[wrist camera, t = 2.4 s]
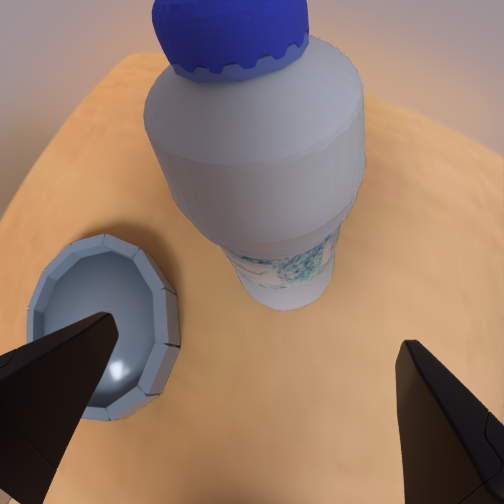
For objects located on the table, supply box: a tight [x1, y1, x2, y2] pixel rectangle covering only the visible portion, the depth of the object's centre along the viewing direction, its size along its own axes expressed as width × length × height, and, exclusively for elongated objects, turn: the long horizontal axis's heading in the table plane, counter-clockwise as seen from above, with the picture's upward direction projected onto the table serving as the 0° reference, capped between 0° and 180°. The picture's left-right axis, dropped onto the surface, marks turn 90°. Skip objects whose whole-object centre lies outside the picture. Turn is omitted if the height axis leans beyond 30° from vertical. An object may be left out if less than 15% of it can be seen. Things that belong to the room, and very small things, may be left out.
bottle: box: [143, 0, 366, 311], centre depth 13 cm, size 7×7×20 cm
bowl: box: [27, 233, 181, 421], centre depth 22 cm, size 15×15×2 cm
